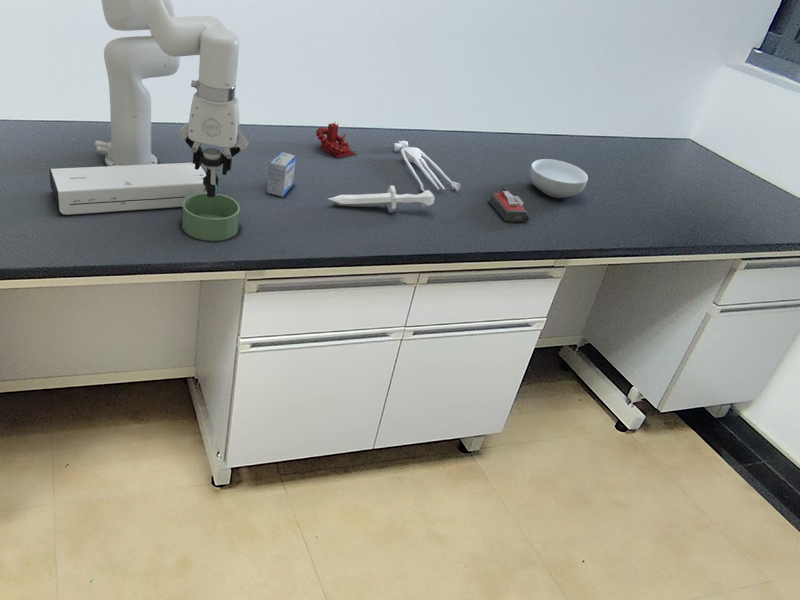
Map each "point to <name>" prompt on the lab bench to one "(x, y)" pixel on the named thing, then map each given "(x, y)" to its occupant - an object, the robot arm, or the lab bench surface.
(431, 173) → the alien
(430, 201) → the dagger
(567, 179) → the cereal bowl
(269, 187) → the medicine box
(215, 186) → the push button
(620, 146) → the lab bench surface
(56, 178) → the laminator
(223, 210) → the green round bowl
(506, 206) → the walkie-talkie
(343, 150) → the diorama
